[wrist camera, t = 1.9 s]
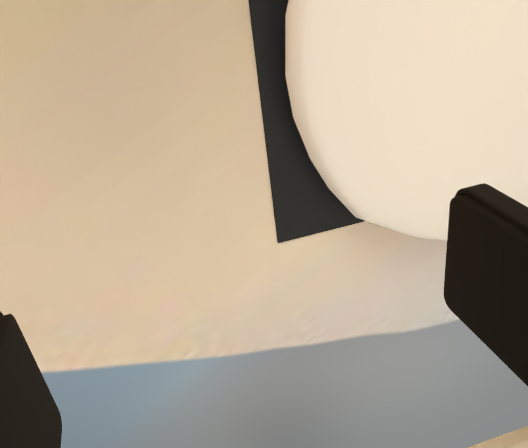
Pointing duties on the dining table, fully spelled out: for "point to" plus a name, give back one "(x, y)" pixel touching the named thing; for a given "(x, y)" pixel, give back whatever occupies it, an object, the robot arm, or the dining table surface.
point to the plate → (410, 103)
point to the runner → (288, 138)
